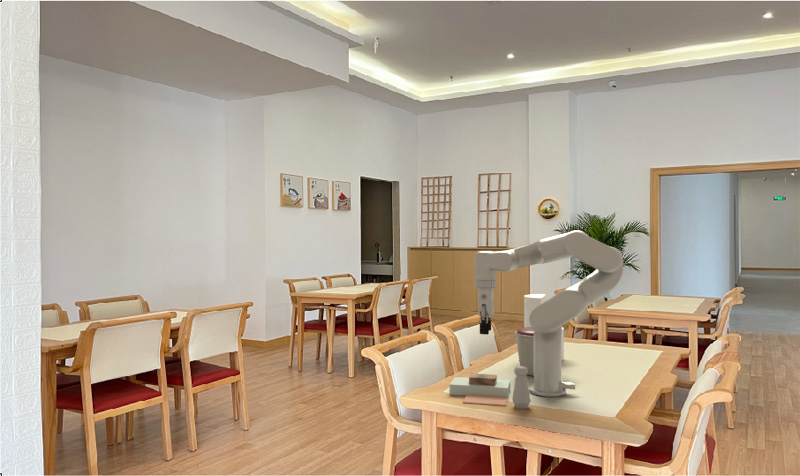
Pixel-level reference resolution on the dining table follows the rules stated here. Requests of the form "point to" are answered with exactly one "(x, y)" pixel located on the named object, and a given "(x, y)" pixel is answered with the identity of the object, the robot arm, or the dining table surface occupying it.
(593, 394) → the dining table surface
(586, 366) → the dining table surface
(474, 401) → the mat
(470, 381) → the brown wooden block
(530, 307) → the white tall block
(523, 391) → the salt shaker
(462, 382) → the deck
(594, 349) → the dining table surface
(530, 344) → the canister
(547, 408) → the dining table surface
